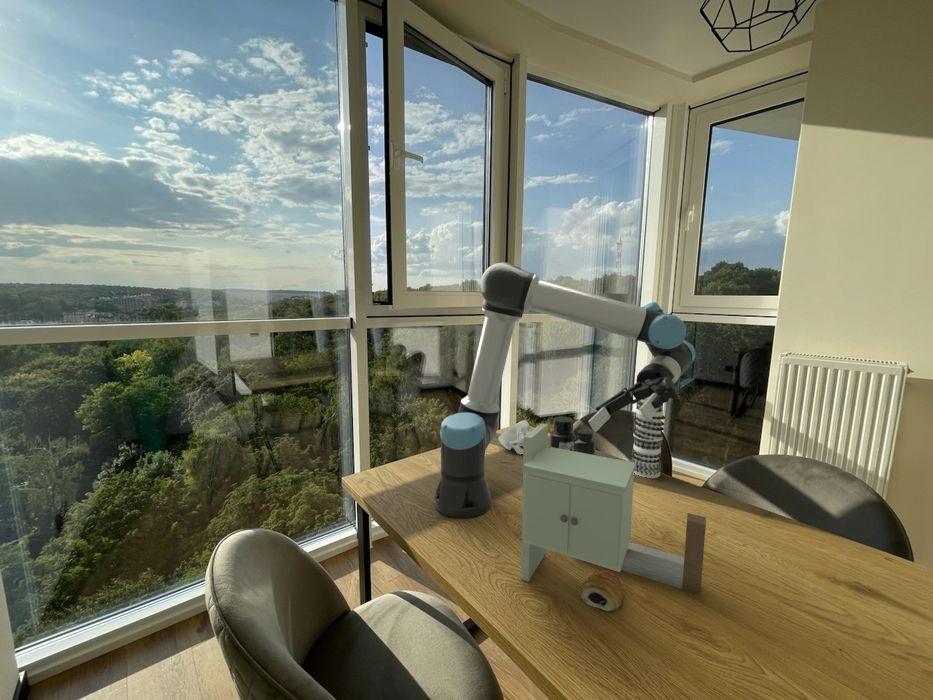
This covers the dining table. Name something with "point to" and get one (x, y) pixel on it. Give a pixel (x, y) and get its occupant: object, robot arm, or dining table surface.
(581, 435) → the supplement bottle
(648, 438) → the decorative candle
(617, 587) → the pastry
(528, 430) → the skull bowl
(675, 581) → the l-shaped try square
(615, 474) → the green cabinet
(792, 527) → the dining table surface
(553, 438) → the ink bottle
